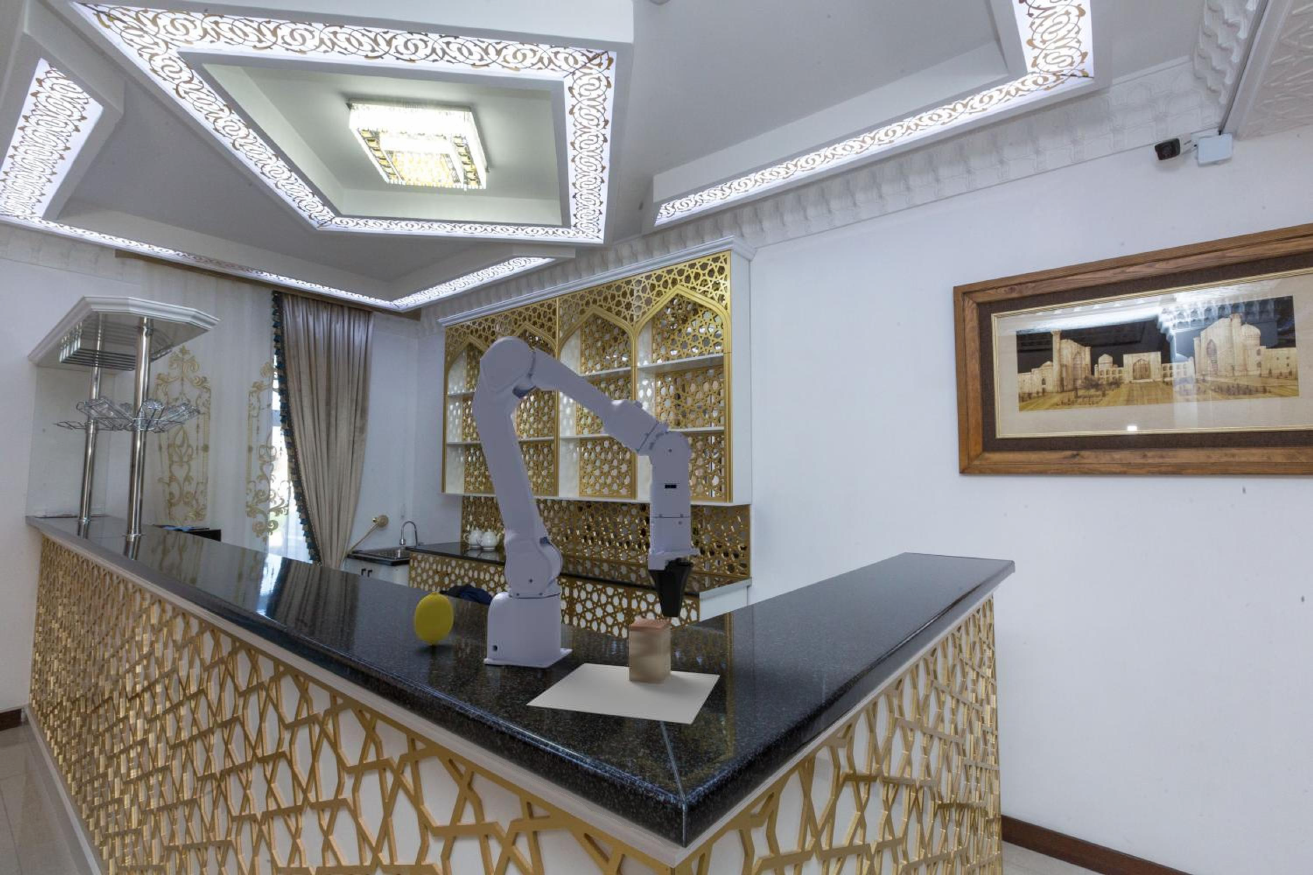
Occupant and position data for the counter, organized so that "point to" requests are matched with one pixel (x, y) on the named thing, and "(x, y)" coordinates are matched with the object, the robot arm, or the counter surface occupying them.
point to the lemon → (433, 618)
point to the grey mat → (629, 694)
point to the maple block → (649, 651)
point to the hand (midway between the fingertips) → (671, 616)
